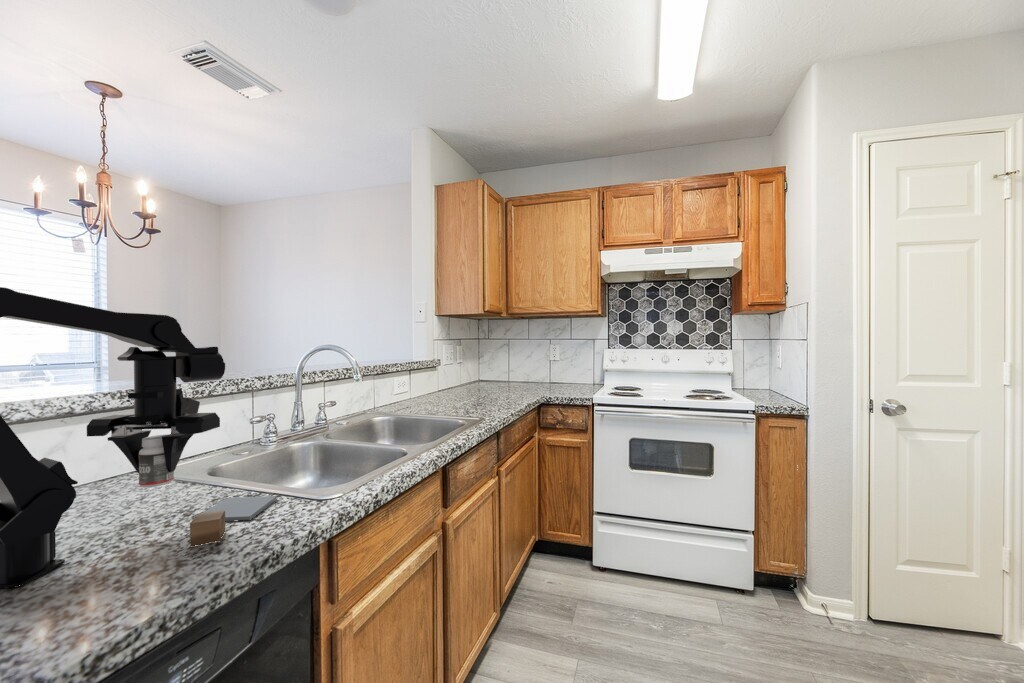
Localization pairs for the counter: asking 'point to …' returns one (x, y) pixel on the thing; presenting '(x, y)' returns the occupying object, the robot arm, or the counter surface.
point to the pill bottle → (153, 463)
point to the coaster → (242, 507)
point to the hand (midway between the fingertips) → (156, 471)
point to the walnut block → (207, 527)
